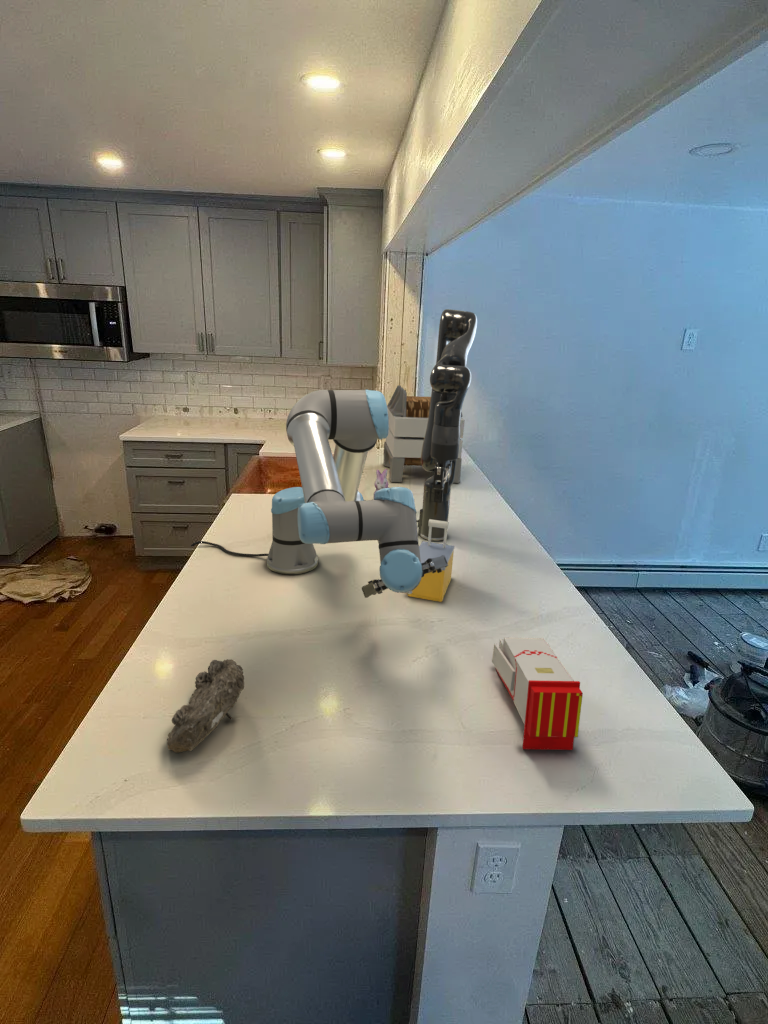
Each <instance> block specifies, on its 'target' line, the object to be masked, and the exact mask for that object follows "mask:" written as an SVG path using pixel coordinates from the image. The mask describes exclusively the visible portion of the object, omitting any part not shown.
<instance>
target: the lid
mask: <svg viewBox="0 0 768 1024" xmlns="http://www.w3.org/2000/svg"><path fill="white" fill-rule="evenodd" d="M449 523H450V522H449V521H448V522H446V521H439V520H431V519H429V523H428V526H429V535H428V540H427V541H423V540H422V541H421V543H419V550H420V560H421V563H424V562H425V561H426V560H427V559H429V558H436V557H440V556H442V555H445V558H446V560H447V563H448V561H449V559H450V557H451V555H452V552H453V550H454V551H455V545H452V544H447V538H448V529H449V526H450V525H449ZM432 527H438V528H445V530H444V540H443V541H442V542H443V543H438V542H433V541H431V532H432ZM445 568H446V567H443V568H441V570H445Z"/></svg>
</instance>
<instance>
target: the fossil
mask: <svg viewBox="0 0 768 1024" xmlns="http://www.w3.org/2000/svg"><path fill="white" fill-rule="evenodd" d="M243 670H244V669H243V667H242V665H240V664H237V662H236V661H235V660H234V659H232V658H231V659H227V658H226V659H224V660H223V661H222V660H217V659H212V660H211V661H210V663H209V665H208V666H207V671H201V672H199V673H198V674H197V675H196V676H195V680H194V684H195V685H194V687H195V689H194V690H193V693H192V694H191V697H190V698H189V700H188V704H184V705H182V706H181V707H180V709H177V710H176V711H175V713H174V715H173V716H172V718H171V723H172V724H173V727H172V730H171V731H170V732H168V734H167V738H166V741H167V742H166V745H167V749H168V750H169V751H173V752H174V753H176V754H178V753H182V752H188V751H189V752H192V751H193V750H195V748H196V747H197V746H199V744H200V743H201V742H203V741H204V740H205V739H206V738H207V737H208V736H209V735H210V734H211V733H212V732H214V730H215V729H217V727H218V726H219V724H220V722H221V721H222V720H223V719H224V718H225V716H226V717H227V719H229V720H233V717H232V715H230V714H229V710H230V709H231V708H234V706H235V704H236V703H237V702H238V699H239V697H240V695H241V693H242V691H243V690H245V689H244V688H245V675H244V671H243Z"/></svg>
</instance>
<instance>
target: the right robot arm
mask: <svg viewBox="0 0 768 1024" xmlns="http://www.w3.org/2000/svg"><path fill="white" fill-rule="evenodd" d="M438 325H439V326H438V338H437V347H436V348H437V350H436V360H435V365H434V366H433V368H432V370H431V372H430V376H429V384H430V387H431V393H430V397H431V400H430V410H429V417H428V423H427V428H426V433H425V437H424V441H423V446H422V451H421V464H422V466H421V467H422V469H423V470H424V471H426V472H428V473H429V472H430V473H431V472H433V475H431V476H429V477H428V478H427V479H425V480H424V482H423V493H422V496H423V497H422V506H421V508H420V509H419V516H418V519H416V521H417V533H418V537H419V536H420V538H421V539H424V540H426V541H428V535H429V526H428V523H429V519H431V520H439V521H446V522H449V517H450V516H449V514H450V504H451V494H452V493H451V491H452V486H453V484H454V483H453V480H454V473H455V466H456V459H457V458H458V453H459V441H460V439H461V438H460V420H461V418H462V417H461V412H462V409H463V404H464V402H465V397H466V395H467V393H468V390H469V389H470V385H471V381H472V372H471V370H470V369H469V367H467V362H468V356H469V352H470V349H471V348H472V345H473V342H474V340H475V338H476V333H477V326H478V317H477V315H476V314H475V313H474V312H473V311H467V310H461V309H460V310H459V309H449V308H446V309H444V310H442V313H441V315H440V318H439V324H438ZM444 530H445V528H438V527H432V532H431V542H440V541H444Z"/></svg>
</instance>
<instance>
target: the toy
mask: <svg viewBox="0 0 768 1024" xmlns="http://www.w3.org/2000/svg"><path fill="white" fill-rule="evenodd" d="M491 663H492V665H493V666H494V668H495V671H496V673H497V674H498V676H499V678H500V680H501V682H502V683H503V685H504V687H505V688H506V690H507V692H508V694H509V696H510V698H511V699H512V701H513V704H514V706H515V707H516V708H515V709H516V710H517V712H518V715H519V717H520V719H521V721H522V723H523V725H524V727H523V737H522V749H523V750H548V751H549V750H552V751H553V750H554V751H555V750H556V751H557V750H559V751H560V750H561V751H572V750H574V741H575V738H578V736H579V729H580V722H581V721H580V720H581V713H582V704H583V695H584V694H583V691H582V690H581V687H580V686H581V682H580V681H578V680H574V678H573V677H572V676H571V674H570V673H569V672H568V670H567V669H566V667H565V665H563V663H562V662H561V661H560V659H559V658H558V656H557V655H556V653H555V652H554V651H553V650H552V647H551V645H550V644H549V643H548V642H547V641H546V640H545V638H544V637H543V638H542V637H541V638H539V637H503V638H499V642H498V643H494V644H493V649H492V658H491Z"/></svg>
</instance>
